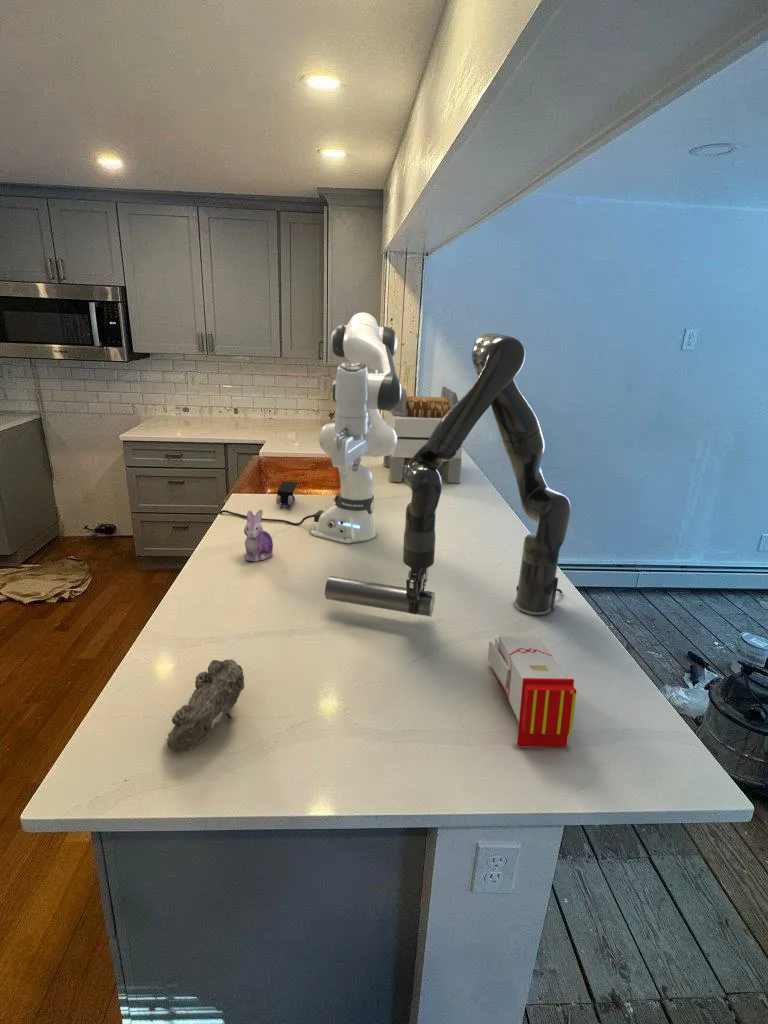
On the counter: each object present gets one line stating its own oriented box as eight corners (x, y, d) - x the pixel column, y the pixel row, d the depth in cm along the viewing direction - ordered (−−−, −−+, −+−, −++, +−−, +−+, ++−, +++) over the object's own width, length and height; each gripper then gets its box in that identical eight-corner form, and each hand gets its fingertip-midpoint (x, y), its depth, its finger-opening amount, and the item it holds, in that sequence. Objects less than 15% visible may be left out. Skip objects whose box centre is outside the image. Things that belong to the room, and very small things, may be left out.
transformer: (382, 463, 289) (386, 382, 275) (445, 464, 293) (451, 384, 279) (390, 482, 257) (394, 392, 243) (460, 483, 261) (468, 394, 247)
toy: (536, 619, 129) (586, 686, 99) (531, 673, 131) (578, 754, 102) (483, 618, 128) (517, 685, 99) (479, 672, 131) (511, 753, 102)
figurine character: (293, 513, 218) (297, 497, 231) (292, 495, 215) (297, 480, 228) (275, 513, 218) (281, 496, 231) (274, 495, 214) (280, 479, 228)
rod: (324, 603, 144) (324, 582, 142) (333, 592, 150) (333, 572, 148) (429, 621, 137) (430, 599, 135) (434, 609, 143) (435, 587, 141)
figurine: (248, 564, 171) (246, 518, 166) (239, 551, 179) (237, 507, 174) (278, 559, 175) (277, 514, 170) (269, 547, 183) (267, 503, 178)
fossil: (192, 660, 117) (244, 628, 112) (224, 691, 120) (276, 661, 115) (142, 746, 98) (202, 712, 93) (182, 779, 101) (242, 748, 96)
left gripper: (349, 434, 141) (348, 487, 145) (373, 420, 159) (371, 467, 164) (325, 431, 142) (325, 484, 147) (352, 418, 161) (351, 465, 166)
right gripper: (428, 559, 127) (424, 623, 133) (440, 535, 140) (436, 595, 146) (396, 554, 129) (394, 618, 135) (411, 531, 142) (408, 591, 148)
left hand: (350, 475), depth 156 cm, fingers open, 8 cm apart
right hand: (416, 606), depth 141 cm, fingers closed on rod, 6 cm apart
